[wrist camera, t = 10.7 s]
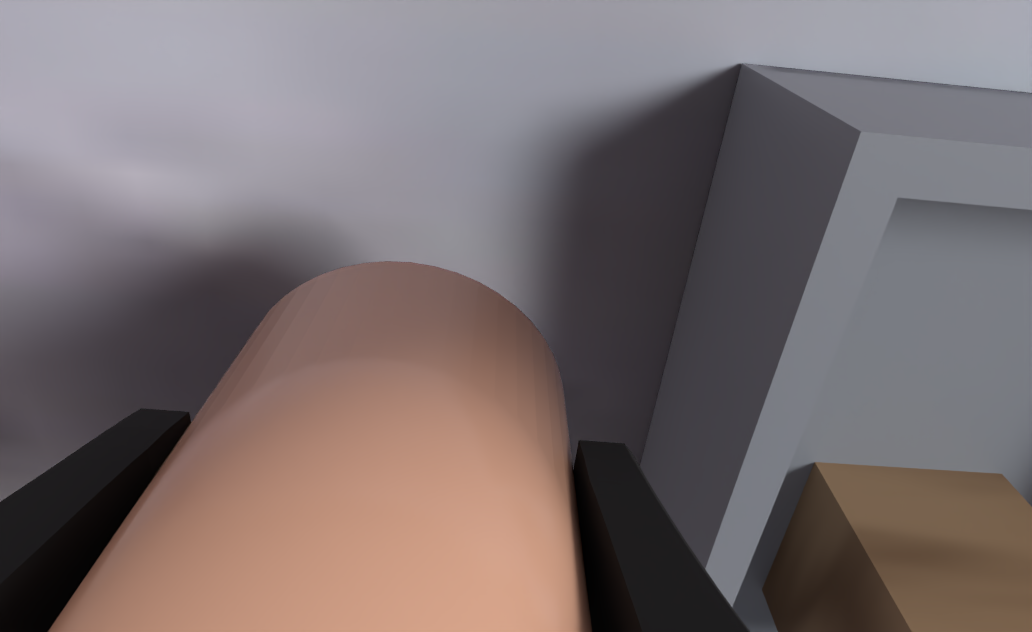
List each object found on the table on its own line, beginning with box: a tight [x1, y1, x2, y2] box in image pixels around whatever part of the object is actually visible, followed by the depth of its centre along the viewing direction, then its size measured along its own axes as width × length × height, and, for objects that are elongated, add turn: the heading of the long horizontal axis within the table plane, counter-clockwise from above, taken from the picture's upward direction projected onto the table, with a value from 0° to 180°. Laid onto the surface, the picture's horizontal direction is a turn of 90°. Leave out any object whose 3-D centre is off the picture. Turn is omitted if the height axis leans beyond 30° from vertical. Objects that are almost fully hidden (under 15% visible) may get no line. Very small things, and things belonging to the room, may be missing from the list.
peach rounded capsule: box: [48, 261, 592, 632], centre depth 7 cm, size 5×5×7 cm
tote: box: [640, 63, 1032, 632], centre depth 15 cm, size 18×14×5 cm
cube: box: [762, 462, 1032, 632], centre depth 16 cm, size 5×5×5 cm
